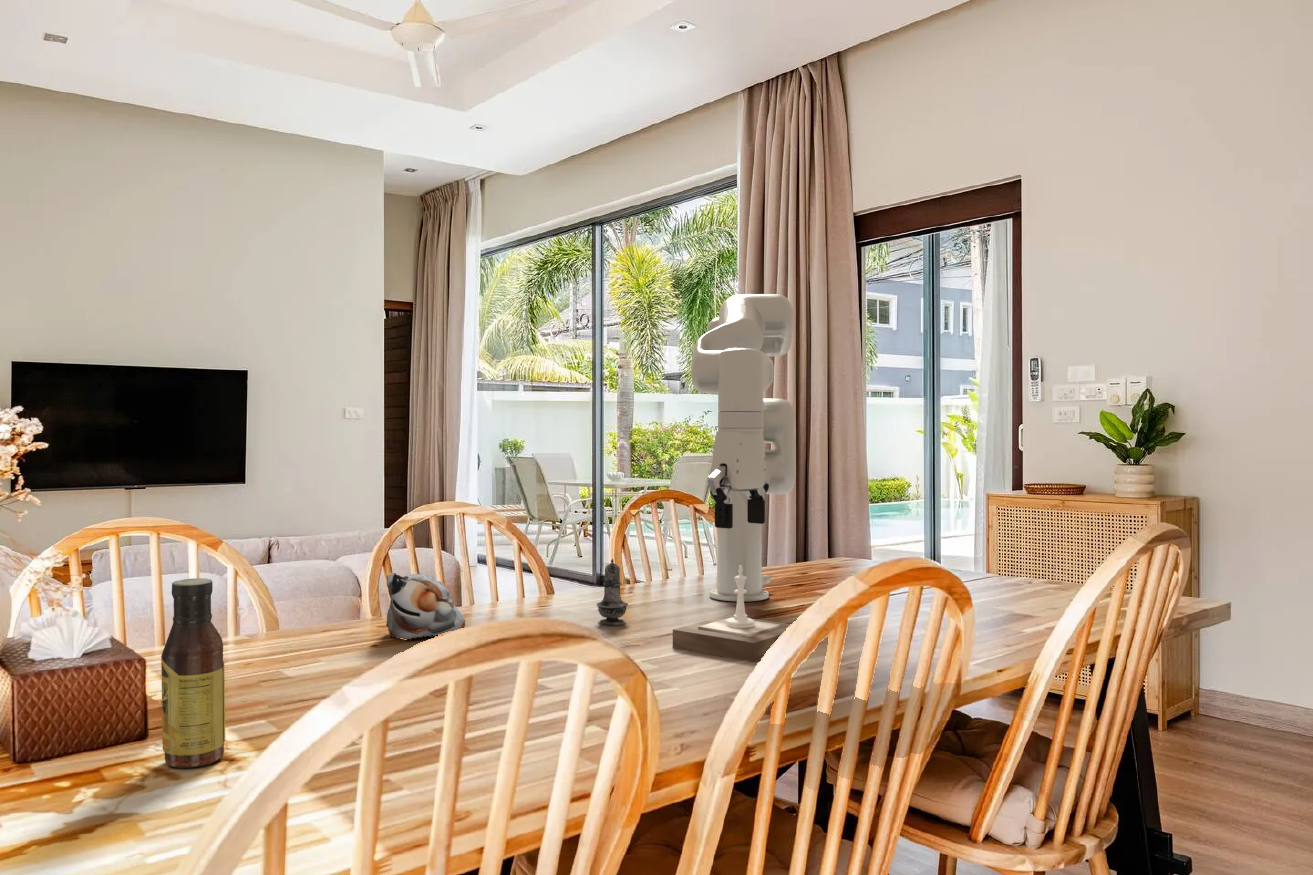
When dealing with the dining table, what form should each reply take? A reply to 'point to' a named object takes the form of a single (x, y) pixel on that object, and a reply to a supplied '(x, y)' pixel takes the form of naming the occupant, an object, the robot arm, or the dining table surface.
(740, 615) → the chess piece
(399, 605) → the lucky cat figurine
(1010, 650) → the dining table surface
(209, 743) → the sauce bottle
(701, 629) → the walnut base
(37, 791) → the dining table surface
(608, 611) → the salt shaker
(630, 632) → the dining table surface
